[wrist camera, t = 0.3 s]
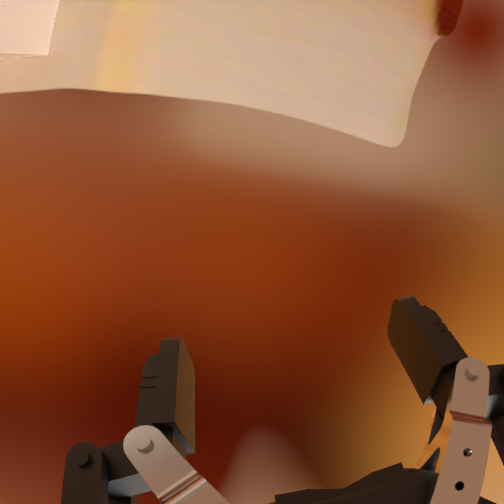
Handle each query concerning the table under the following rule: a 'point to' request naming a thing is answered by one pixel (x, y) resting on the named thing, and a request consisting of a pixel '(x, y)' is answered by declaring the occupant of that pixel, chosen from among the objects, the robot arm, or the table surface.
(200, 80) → the table surface
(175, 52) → the table surface
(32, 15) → the white side table
